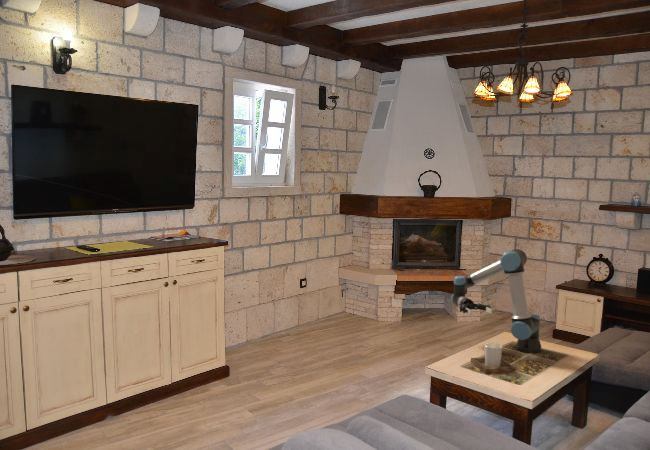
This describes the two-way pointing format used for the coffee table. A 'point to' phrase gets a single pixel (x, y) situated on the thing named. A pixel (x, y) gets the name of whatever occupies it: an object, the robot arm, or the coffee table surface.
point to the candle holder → (493, 355)
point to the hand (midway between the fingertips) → (481, 312)
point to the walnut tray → (503, 367)
